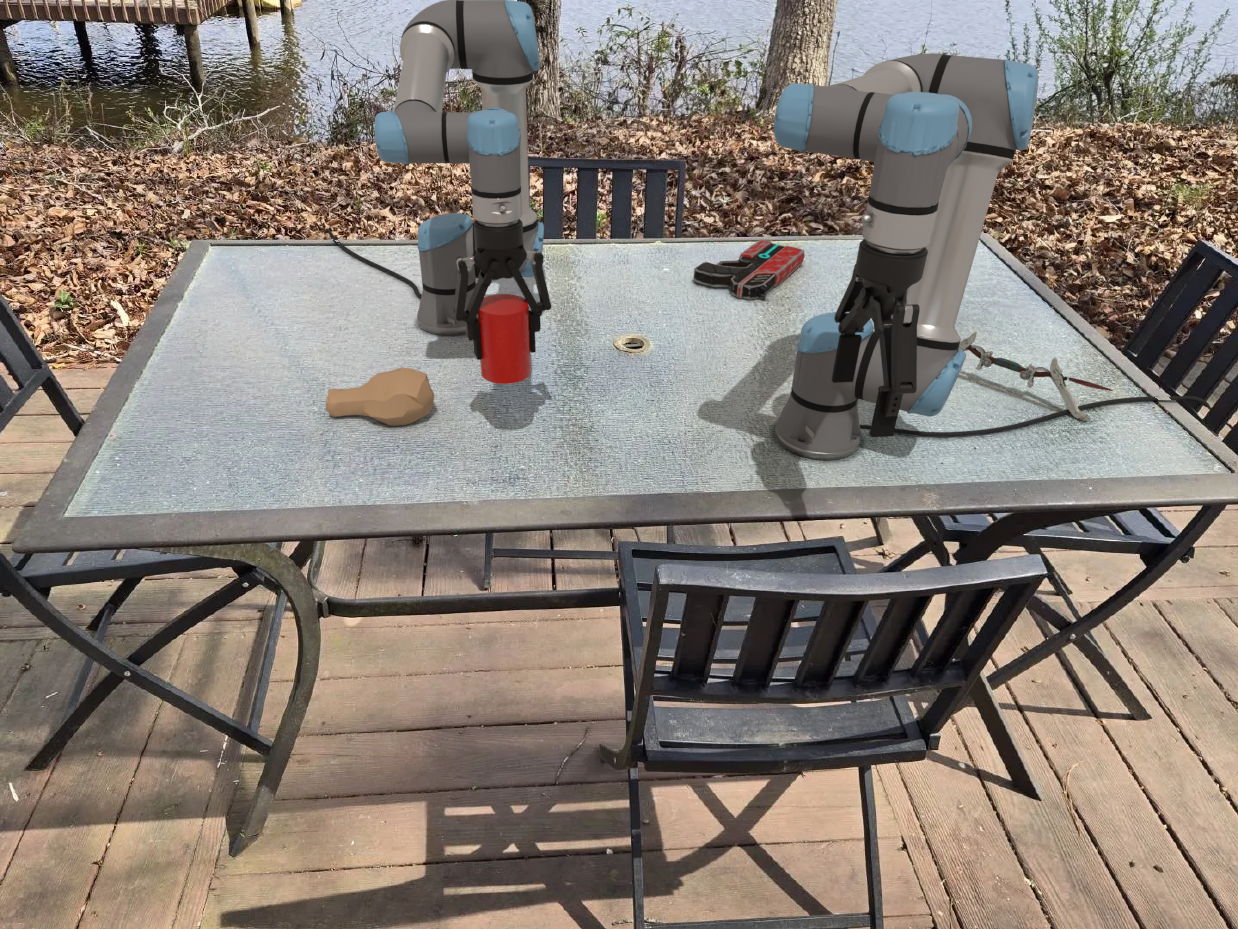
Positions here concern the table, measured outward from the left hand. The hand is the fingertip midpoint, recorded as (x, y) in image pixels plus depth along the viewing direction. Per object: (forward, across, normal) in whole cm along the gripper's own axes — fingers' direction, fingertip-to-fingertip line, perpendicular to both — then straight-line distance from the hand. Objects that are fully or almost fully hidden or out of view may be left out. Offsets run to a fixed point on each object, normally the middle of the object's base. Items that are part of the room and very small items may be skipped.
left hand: (504, 352), depth 147 cm
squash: (+17, -20, +14) cm, 30 cm away
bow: (+17, +98, -12) cm, 100 cm away
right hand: (-12, +34, -52) cm, 63 cm away
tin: (+4, 0, 0) cm, 4 cm away
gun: (+17, +77, +58) cm, 98 cm away
